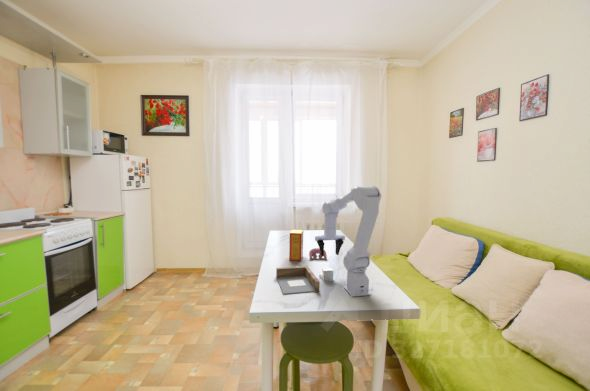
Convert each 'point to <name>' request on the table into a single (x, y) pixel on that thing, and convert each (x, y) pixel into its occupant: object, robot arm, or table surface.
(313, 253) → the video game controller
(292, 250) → the baking soda box
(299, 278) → the mat
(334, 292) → the table surface
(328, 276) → the aluminium bracket
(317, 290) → the corner walls
